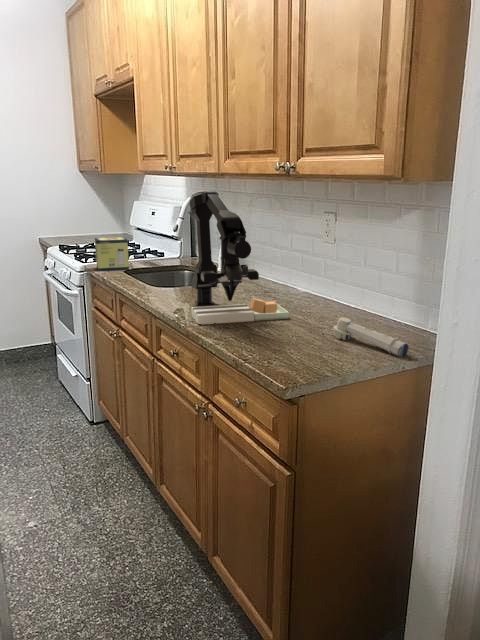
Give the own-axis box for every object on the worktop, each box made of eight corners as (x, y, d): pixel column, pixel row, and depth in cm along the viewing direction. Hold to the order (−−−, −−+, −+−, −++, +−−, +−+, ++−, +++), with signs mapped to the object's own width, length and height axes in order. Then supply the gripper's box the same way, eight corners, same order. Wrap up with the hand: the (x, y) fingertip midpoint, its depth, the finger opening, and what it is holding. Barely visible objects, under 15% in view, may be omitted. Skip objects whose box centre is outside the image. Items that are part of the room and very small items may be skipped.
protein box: (96, 268, 284) (94, 237, 280) (126, 266, 289) (125, 236, 285) (98, 271, 274) (96, 240, 270) (129, 269, 279) (128, 239, 275)
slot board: (191, 315, 190) (191, 305, 189) (244, 312, 195) (244, 302, 194) (198, 324, 179) (198, 313, 178) (254, 320, 184) (254, 310, 183)
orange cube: (262, 301, 191) (273, 301, 192) (262, 313, 192) (273, 312, 193) (265, 304, 187) (276, 303, 188) (265, 315, 188) (276, 315, 189)
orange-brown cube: (248, 308, 191) (251, 297, 190) (259, 311, 192) (262, 300, 191) (251, 310, 187) (254, 299, 186) (262, 313, 188) (265, 302, 187)
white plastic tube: (399, 345, 146) (331, 314, 164) (395, 367, 149) (328, 334, 167) (411, 341, 149) (343, 311, 167) (406, 363, 152) (340, 331, 170)
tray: (245, 312, 195) (245, 306, 194) (277, 310, 198) (277, 304, 197) (255, 320, 184) (255, 314, 183) (289, 318, 187) (289, 312, 186)
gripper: (207, 259, 172) (207, 307, 176) (264, 257, 177) (263, 304, 181) (200, 254, 182) (200, 300, 186) (254, 252, 187) (253, 297, 191)
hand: (229, 300), depth 186 cm, fingers closed
